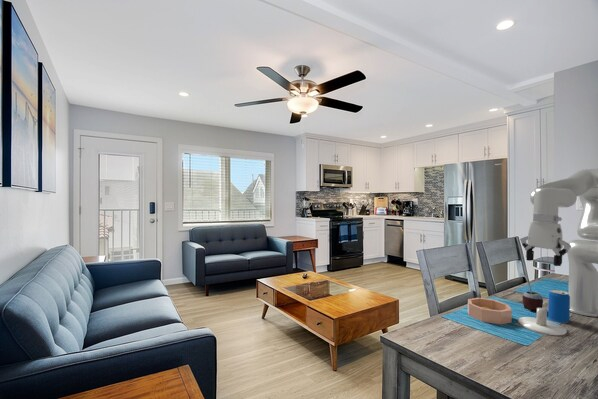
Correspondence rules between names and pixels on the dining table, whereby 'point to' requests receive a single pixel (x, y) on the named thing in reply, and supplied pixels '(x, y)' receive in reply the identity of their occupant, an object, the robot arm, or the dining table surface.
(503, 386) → the dining table surface
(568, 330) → the mat
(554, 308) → the beverage can
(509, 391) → the dining table surface
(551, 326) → the lid
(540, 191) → the robot arm
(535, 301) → the mate gourd
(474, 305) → the octagonal ring frame
